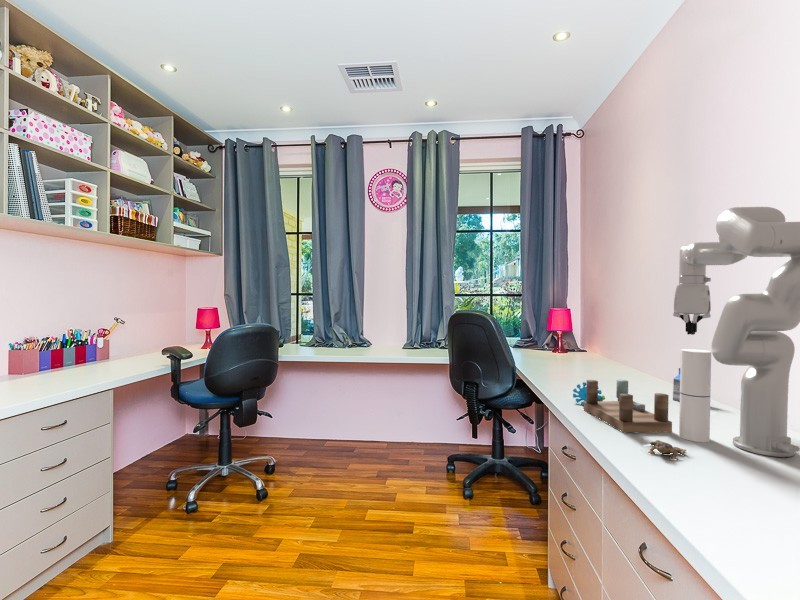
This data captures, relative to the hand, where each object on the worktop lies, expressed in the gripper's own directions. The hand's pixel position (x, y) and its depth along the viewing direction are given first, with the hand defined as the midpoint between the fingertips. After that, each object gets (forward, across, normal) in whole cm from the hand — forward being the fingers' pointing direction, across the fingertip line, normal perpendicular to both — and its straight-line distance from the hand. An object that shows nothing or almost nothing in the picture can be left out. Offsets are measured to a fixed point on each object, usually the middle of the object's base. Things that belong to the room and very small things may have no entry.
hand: (691, 334), depth 147 cm
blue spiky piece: (+28, +28, +16) cm, 42 cm away
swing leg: (+24, +13, +19) cm, 33 cm away
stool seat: (+27, +12, +27) cm, 40 cm away
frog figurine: (+28, -6, +49) cm, 57 cm away
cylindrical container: (+27, -8, +30) cm, 41 cm away
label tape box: (+27, +4, -15) cm, 32 cm away
